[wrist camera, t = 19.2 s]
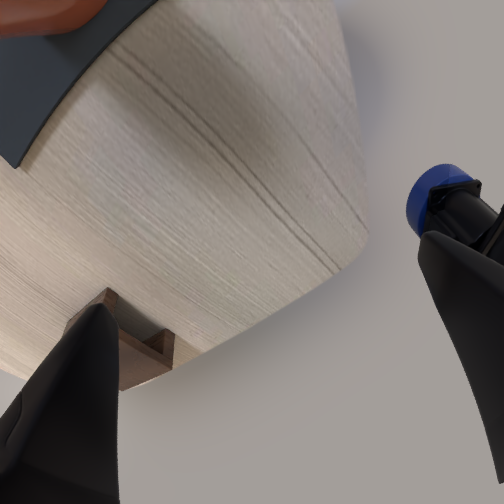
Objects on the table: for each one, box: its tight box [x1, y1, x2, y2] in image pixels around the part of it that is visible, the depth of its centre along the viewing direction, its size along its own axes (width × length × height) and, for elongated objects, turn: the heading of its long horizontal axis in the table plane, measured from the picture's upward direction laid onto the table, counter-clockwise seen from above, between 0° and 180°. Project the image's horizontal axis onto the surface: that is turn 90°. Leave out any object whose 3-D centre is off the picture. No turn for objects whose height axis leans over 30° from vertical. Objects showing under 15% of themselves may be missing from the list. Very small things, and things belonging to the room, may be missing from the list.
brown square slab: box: [62, 287, 175, 391], centre depth 25 cm, size 8×8×4 cm
